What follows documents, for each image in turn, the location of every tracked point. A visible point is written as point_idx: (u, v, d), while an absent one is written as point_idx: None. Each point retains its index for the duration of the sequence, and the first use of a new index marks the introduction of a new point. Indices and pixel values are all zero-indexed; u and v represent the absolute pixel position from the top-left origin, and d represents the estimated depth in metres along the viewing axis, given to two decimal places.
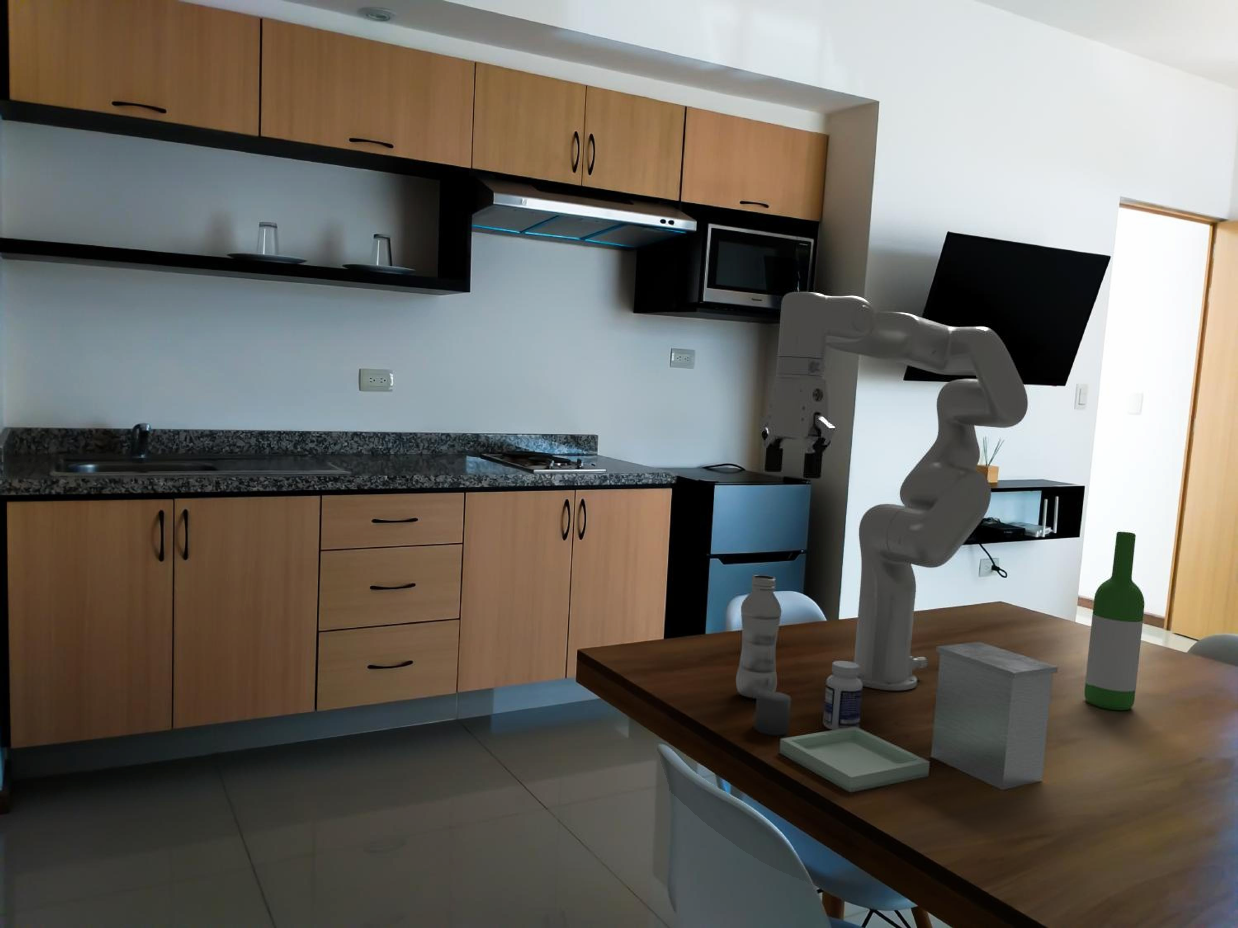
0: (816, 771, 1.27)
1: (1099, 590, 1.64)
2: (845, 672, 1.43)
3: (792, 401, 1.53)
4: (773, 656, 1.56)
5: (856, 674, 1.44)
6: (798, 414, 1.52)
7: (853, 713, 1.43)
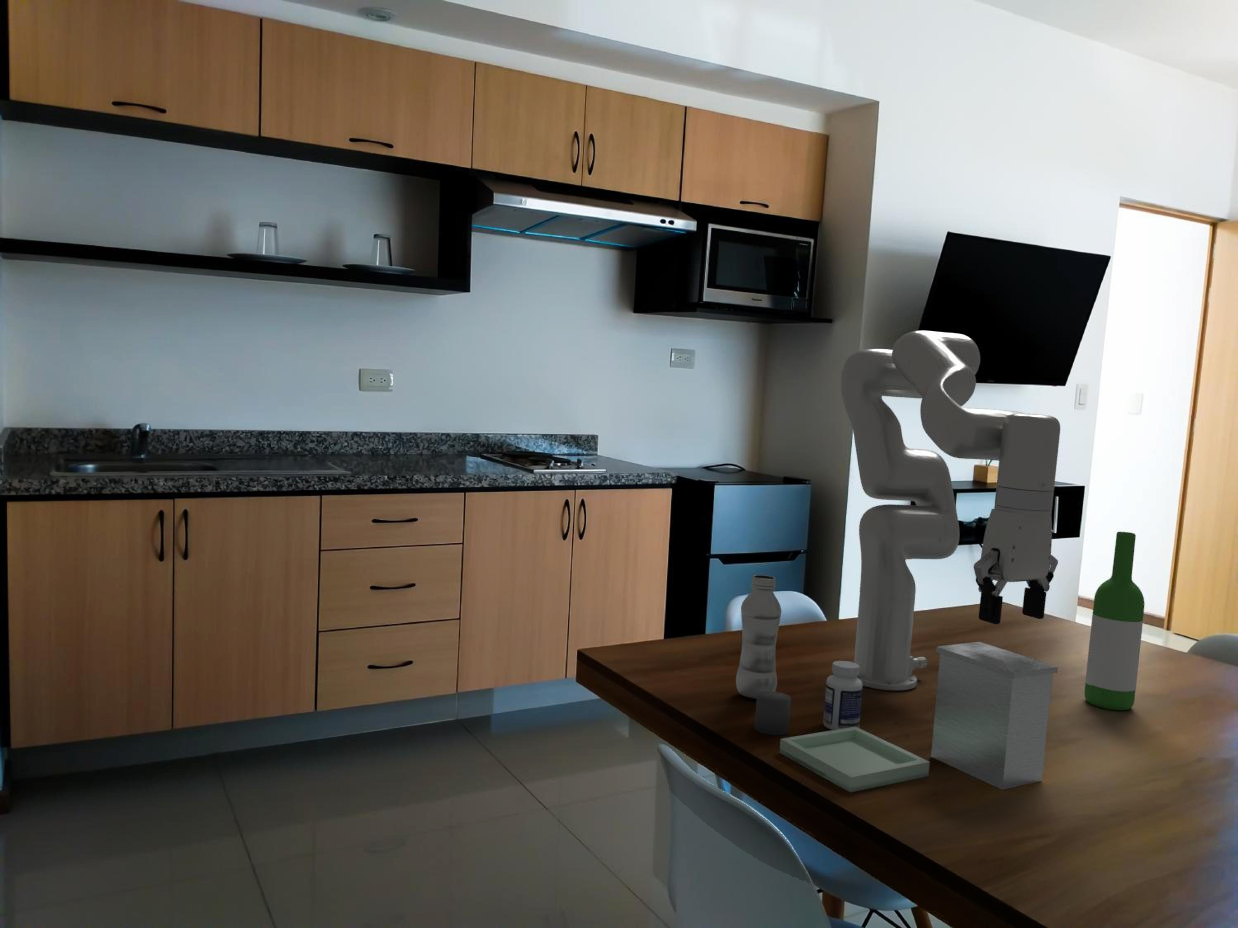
0: (816, 771, 1.27)
1: (1099, 590, 1.64)
2: (845, 672, 1.43)
3: (1042, 539, 1.35)
4: (773, 656, 1.56)
5: (856, 674, 1.44)
6: (1046, 552, 1.36)
7: (853, 713, 1.43)
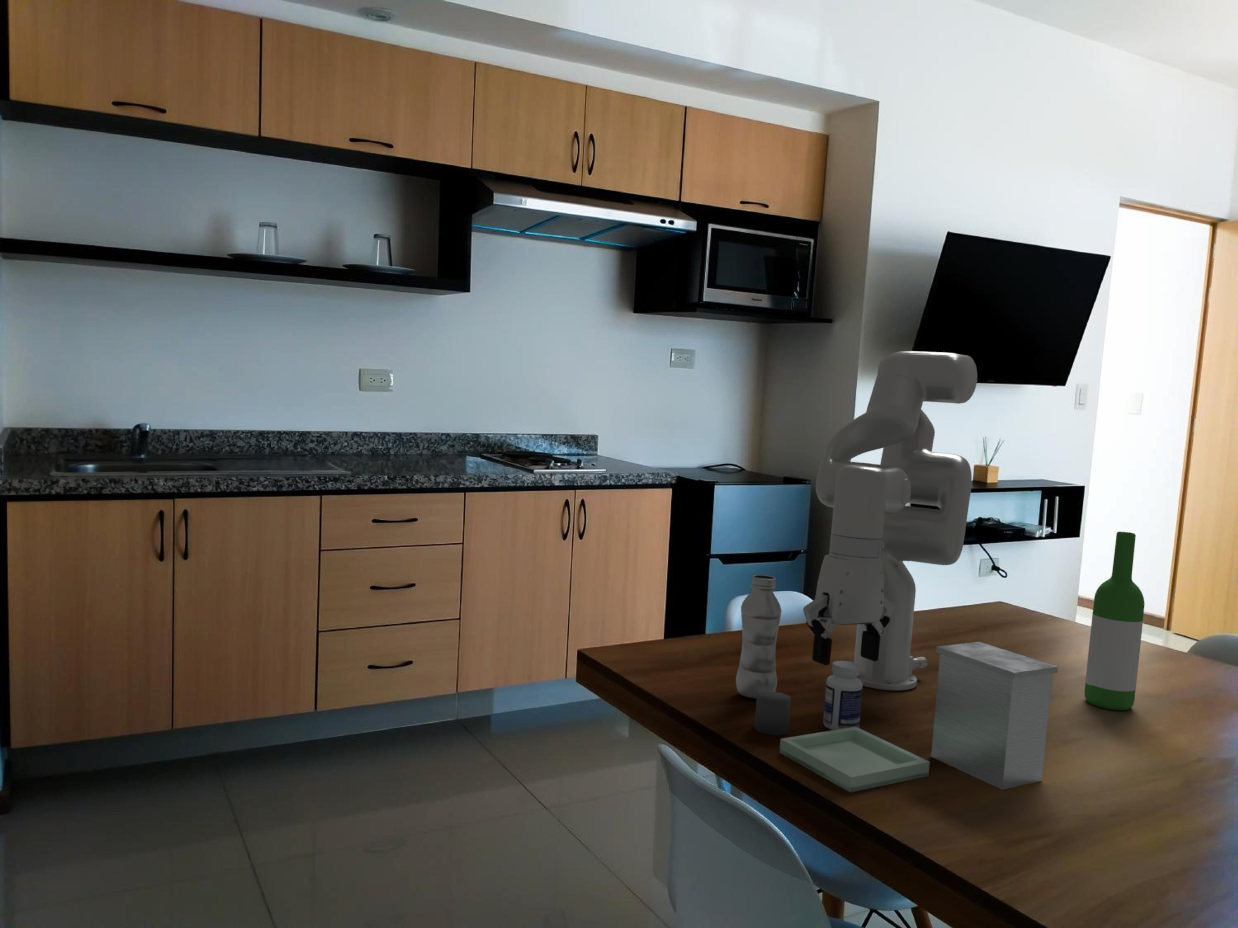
0: (816, 771, 1.27)
1: (1099, 590, 1.64)
2: (845, 672, 1.43)
3: (872, 585, 1.42)
4: (773, 656, 1.56)
5: (856, 674, 1.44)
6: (877, 597, 1.43)
7: (853, 713, 1.43)
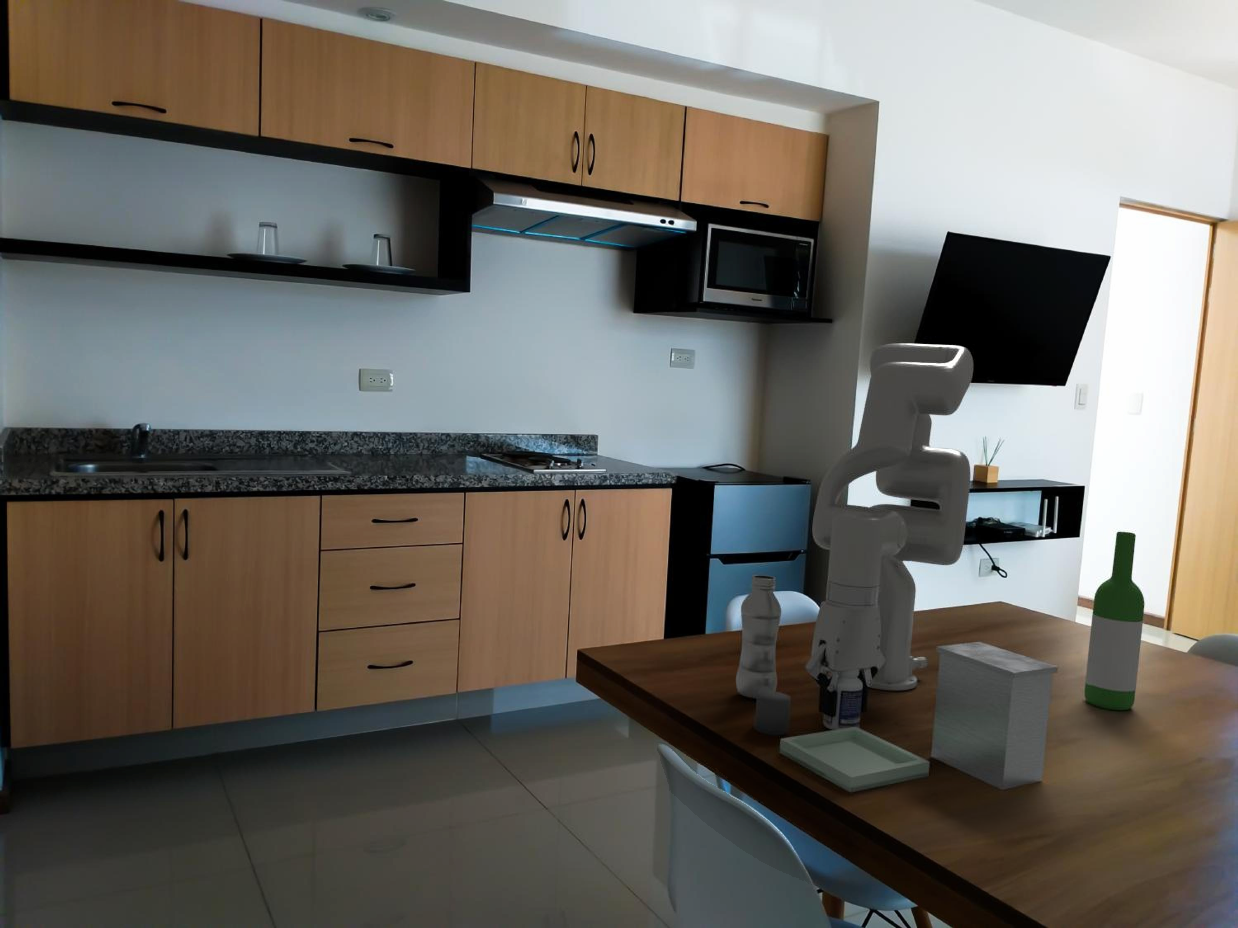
0: (816, 771, 1.27)
1: (1099, 590, 1.64)
2: (845, 672, 1.43)
3: (868, 631, 1.43)
4: (773, 656, 1.56)
5: (856, 674, 1.44)
6: (874, 643, 1.44)
7: (854, 713, 1.43)
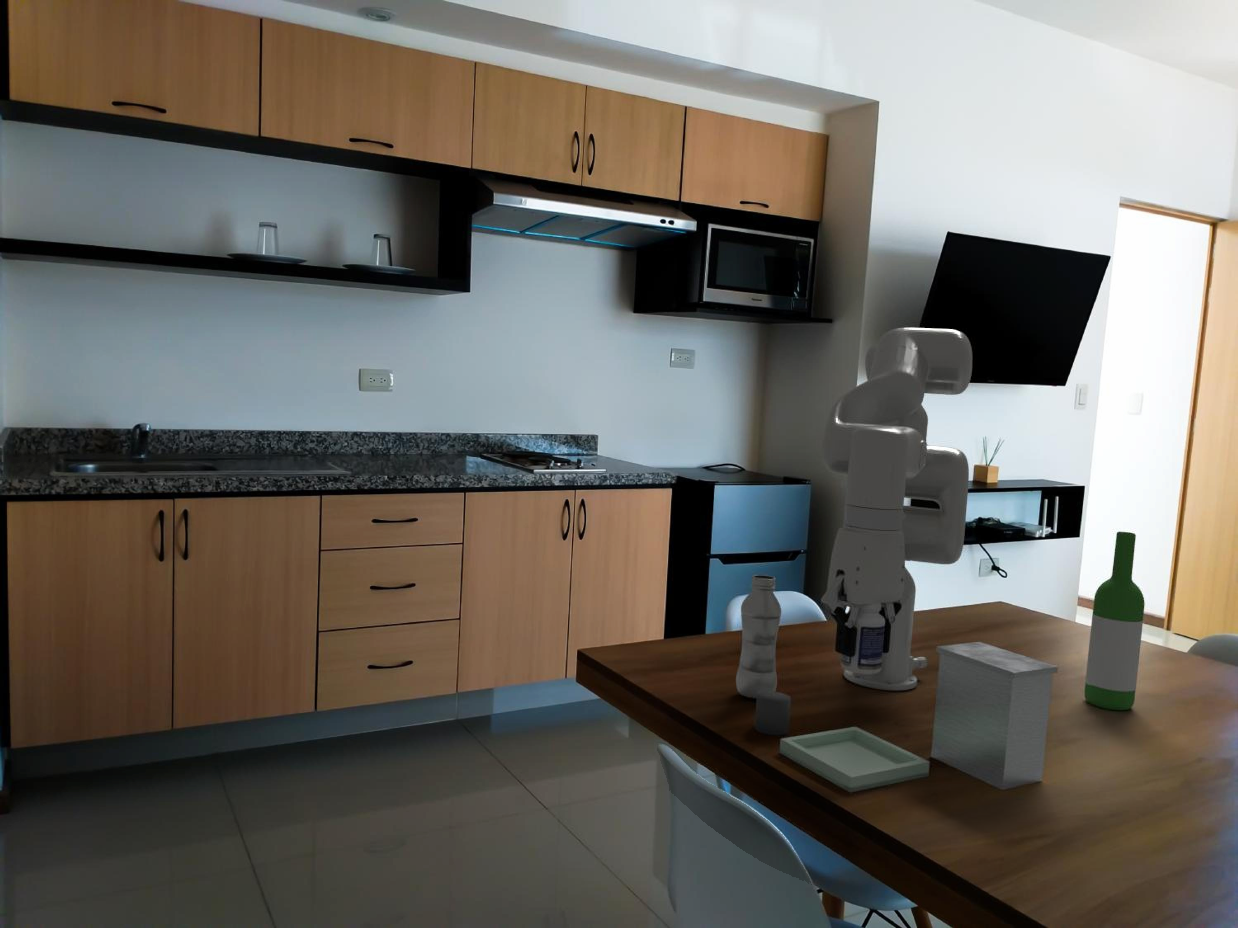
0: (816, 771, 1.27)
1: (1099, 590, 1.64)
2: (865, 606, 1.27)
3: (892, 560, 1.27)
4: (773, 656, 1.56)
5: (878, 609, 1.28)
6: (898, 574, 1.29)
7: (875, 652, 1.27)
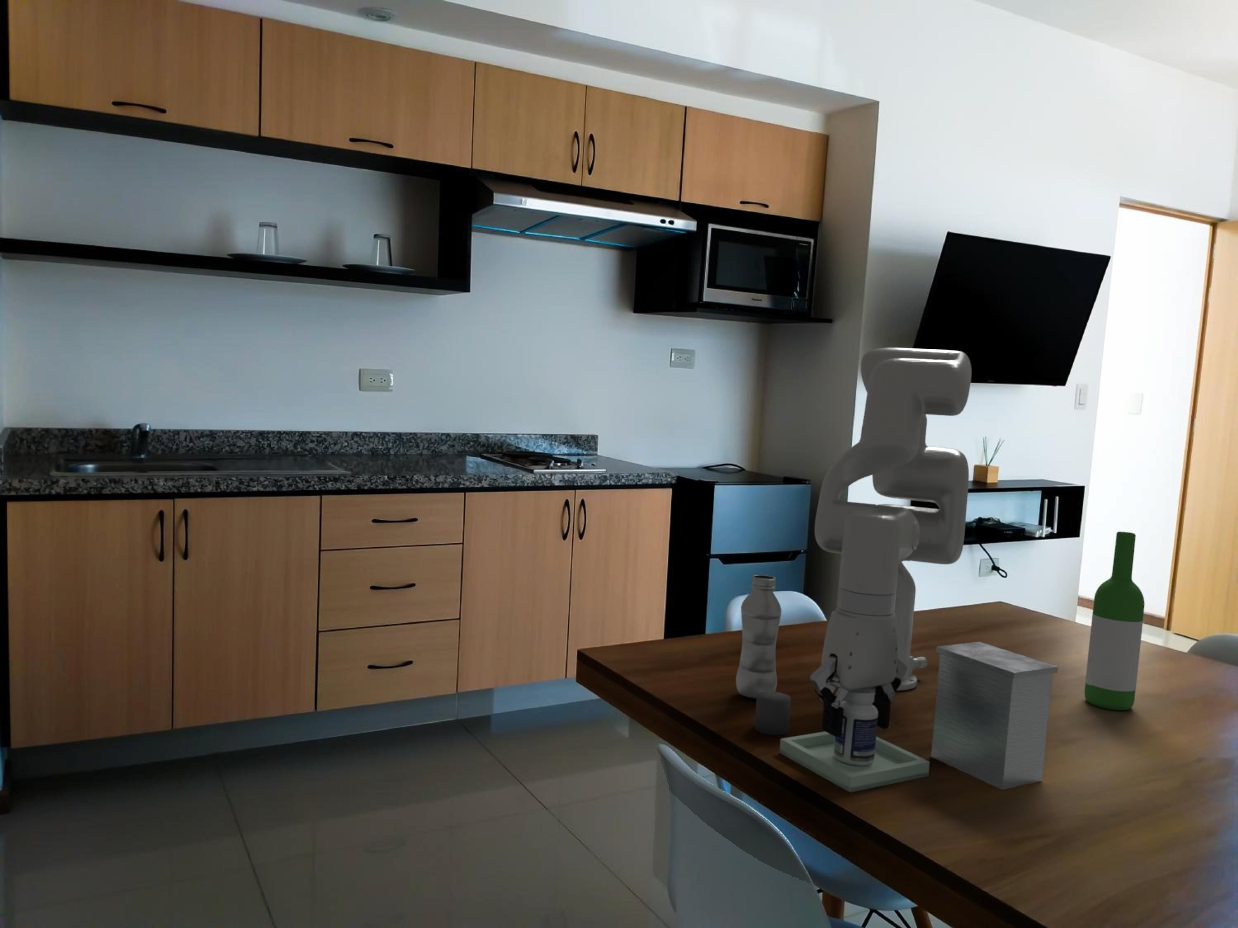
0: (816, 771, 1.27)
1: (1099, 590, 1.64)
2: (858, 698, 1.29)
3: (885, 644, 1.28)
4: (773, 656, 1.56)
5: (871, 701, 1.29)
6: (891, 657, 1.29)
7: (868, 744, 1.29)
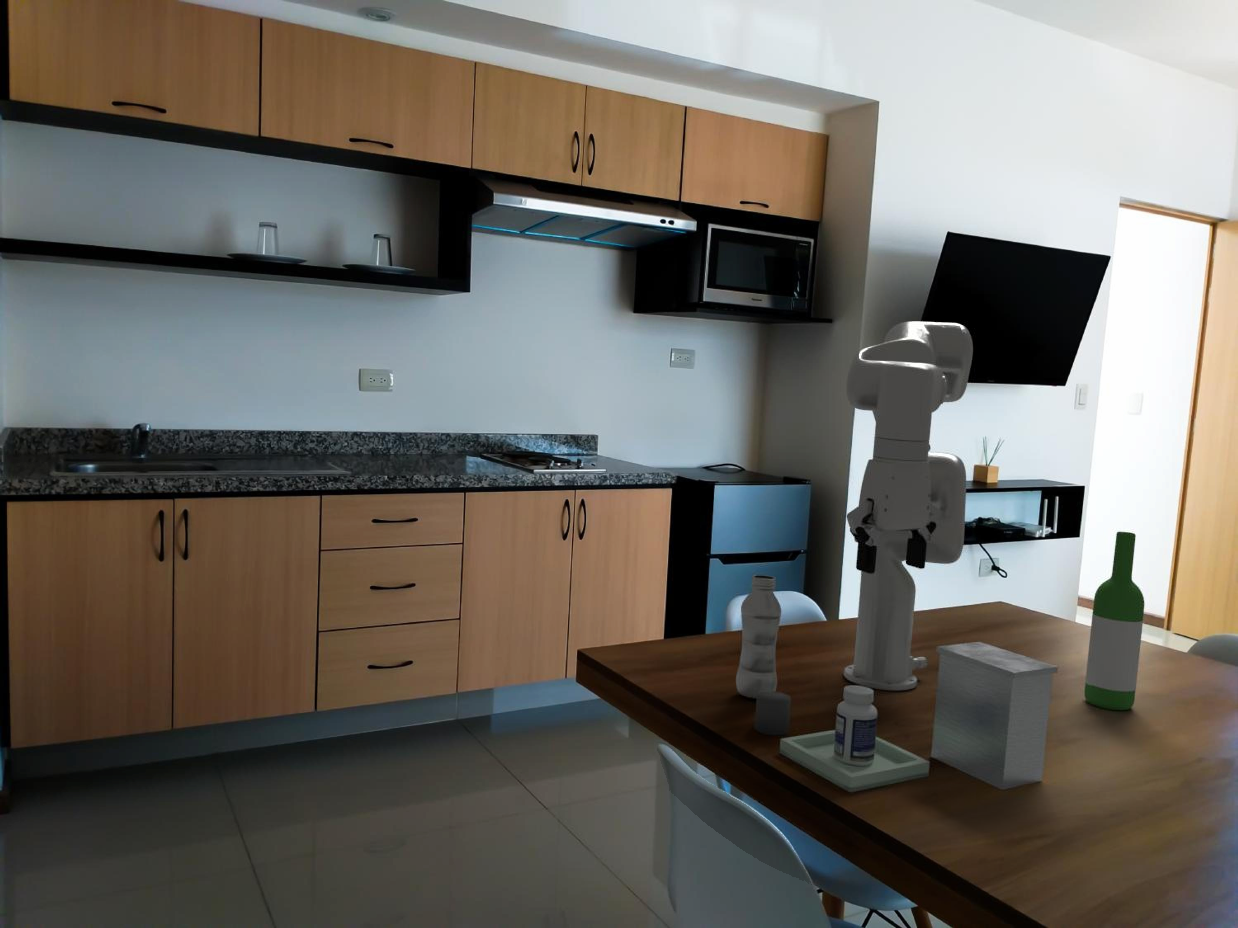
0: (816, 771, 1.27)
1: (1099, 590, 1.64)
2: (858, 698, 1.29)
3: (918, 489, 1.36)
4: (773, 656, 1.56)
5: (870, 701, 1.29)
6: (924, 502, 1.37)
7: (867, 745, 1.29)
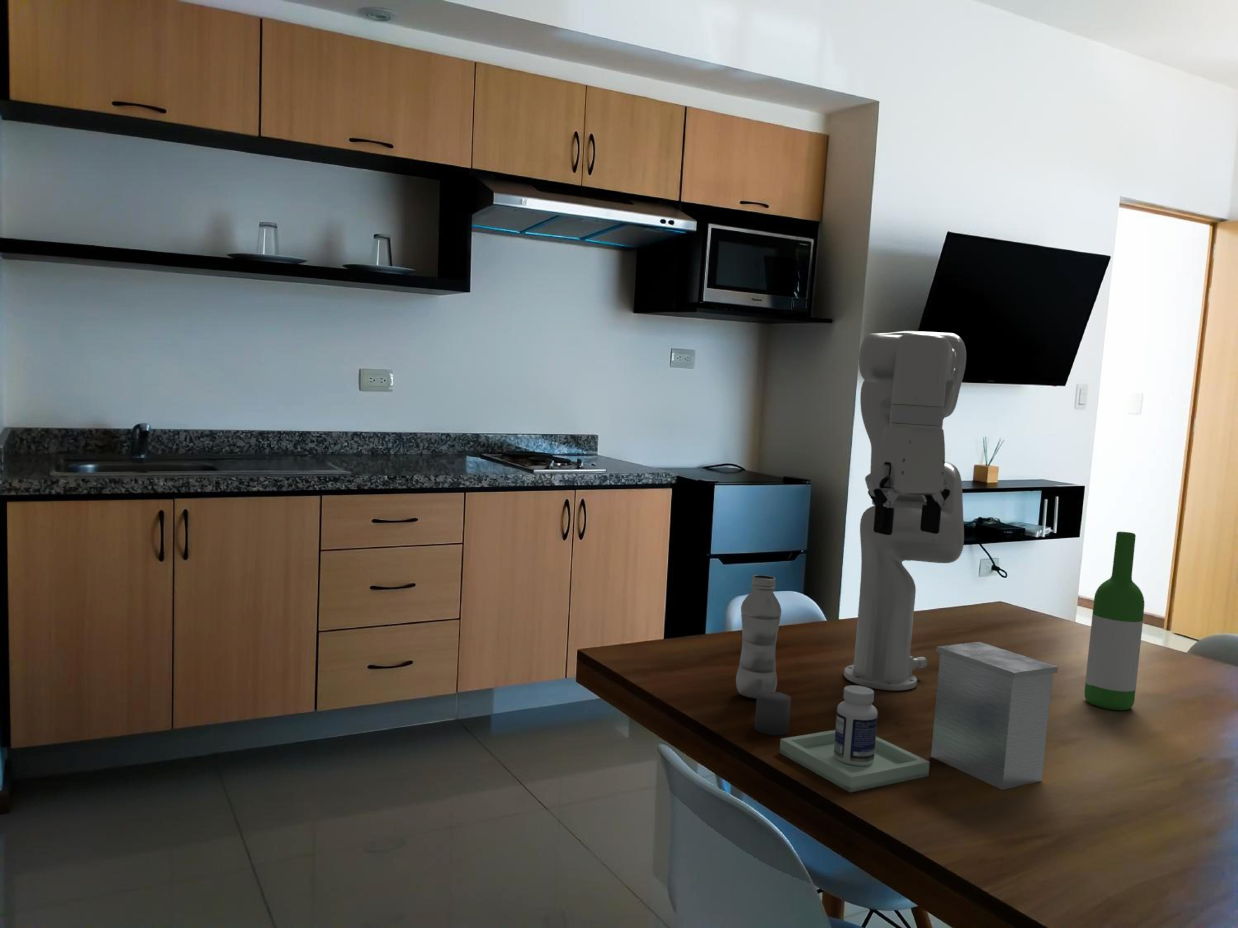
0: (816, 771, 1.27)
1: (1099, 590, 1.64)
2: (858, 698, 1.29)
3: (934, 454, 1.41)
4: (773, 656, 1.56)
5: (870, 701, 1.29)
6: (939, 468, 1.42)
7: (867, 745, 1.29)
